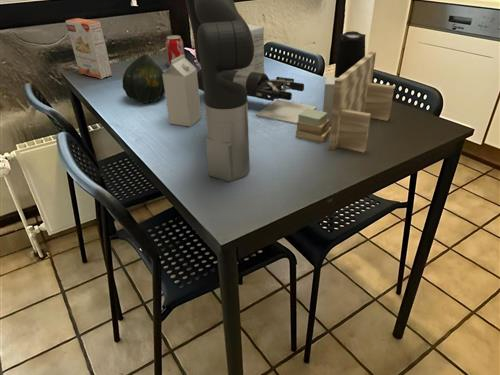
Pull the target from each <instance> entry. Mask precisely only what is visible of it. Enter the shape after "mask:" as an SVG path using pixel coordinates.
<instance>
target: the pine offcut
mask: <svg viewBox="0 0 500 375" xmlns="http://www.w3.org/2000/svg"><path fill="white" fill-rule="evenodd" d="M330 129H331V127H329V129H328V130H327V131H326V132H325V133H324V134H323V135H321V136H318V135H313V134H309V133H305V132H301V131H297V129H296V130H295V138H297V139H302V140H306V141H310V142H314V143H318V144H319V143H320V144H324V143H326V141H327V140H328V139H330Z"/></svg>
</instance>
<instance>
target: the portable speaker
mask: <svg viewBox="0 0 500 375" xmlns="http://www.w3.org/2000/svg"><path fill="white" fill-rule="evenodd" d="M366 35H367V34H363V33H360V32H358V31H354V30H351V31H346V32H344V33H342V34H340V35H339V40H338V44H337V50H336V53H335V54H336V55H335V65H334V66H335V68H334V78H339V77H340V76H341V75H342V74H344V73H345V72H346V71H347V70H349V69H350V68H351V67H352V66H354V65H355V64H356V63H357V62H359V61H360V60H361V59H362V58H364V57H365V56H366Z"/></svg>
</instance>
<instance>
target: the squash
mask: <svg viewBox="0 0 500 375" xmlns="http://www.w3.org/2000/svg"><path fill="white" fill-rule="evenodd" d="M164 72H165V71H163V69H162V68H161V67H160V66H159V64H157V63H156V61H154V60H153V59H152V58H151V57H150V56H149V55H148V54H143V55H141V56H139V57H138V58H137V59H135V60H133V61H132V62H131V63H130V65H128V67H127V68H126V69H125V71H124V74H123V77H122V89H123V90H124V92H125V94H126V96H127V97H129V99H134V100H139V101H140V102H141V103H142V104H147V103H148V102H149V101H150V102H156V100H158V99H159V98H161V97H163V96H164V95H165V89H164V82H163V76H162V74H163V73H164Z"/></svg>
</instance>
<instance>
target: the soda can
mask: <svg viewBox="0 0 500 375" xmlns="http://www.w3.org/2000/svg"><path fill="white" fill-rule="evenodd" d="M165 46H166V47H165V48H166V50H165V51H166V56H167V63H168V65H169V66H168V67H170V66H171V60H173V59H175V58H177V57H179V56H181V55H183V54H184V55H185V48H184V42H183V39H182V38H181V35H179V34H176V35H175V34H174V35H173V34H172V35H168V36H166V40H165Z"/></svg>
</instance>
